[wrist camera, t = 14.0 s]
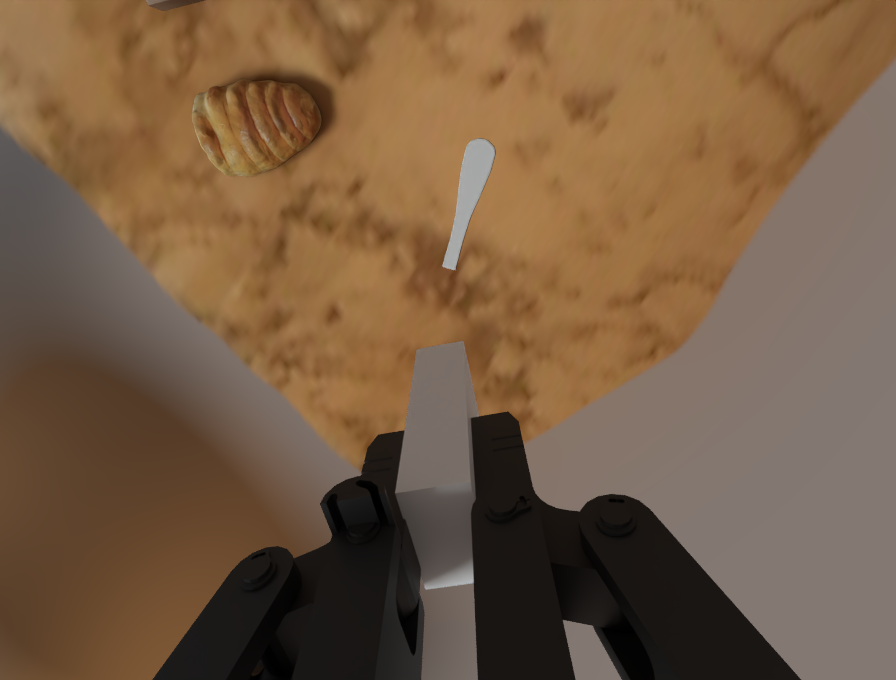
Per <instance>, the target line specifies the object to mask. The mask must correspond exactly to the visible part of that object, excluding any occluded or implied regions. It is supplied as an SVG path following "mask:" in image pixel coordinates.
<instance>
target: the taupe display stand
mask: <svg viewBox="0 0 896 680" xmlns="http://www.w3.org/2000/svg"><path fill="white" fill-rule="evenodd" d="M200 1H204V0H146V2H147V4H148V6H151V7H154V8H156V9H159V10H162V11H165V10H169V9H173V8H177V7H180V6H184V5H188V4H192V3H196V2H200Z"/></svg>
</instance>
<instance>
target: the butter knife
mask: <svg viewBox="0 0 896 680" xmlns="http://www.w3.org/2000/svg"><path fill="white" fill-rule="evenodd" d="M495 154H496V152H495V148H494V146H493V145H492V144H491V143H490V142H489V141H488V140H486V139H482V138H478V139H475V140H471V142H470V143H469V144H468V145H467V147H466V151H465V155H464V159H463V162H462V167H461V174H460V182H459V190H458V199H457V208H456V215H455V220H454V224H453V229H452V233H451V238H450V241H449V245H448V248H447V251H446V255H445V258H444V262H443V267H445V268H449V269H453V270H456V266H457V262H458V258H459V254H460V250H461V247H462V243H463V239H464V236H465V233H466V230H467V227H468V224H469V221H470V218H471V215H472V213H473V211H474V209H475V206H476V204H477V202H478V200H479V198H480V195H481V193H482V191H483V188H484V186H485V184H486V181H487V179H488V177H489V174H490V172H491V169H492V165H493V161H494V158H495Z"/></svg>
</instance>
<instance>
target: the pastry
mask: <svg viewBox="0 0 896 680" xmlns="http://www.w3.org/2000/svg"><path fill="white" fill-rule="evenodd" d="M192 122H193V125H194V128H195V131H196V134H197V137H198V140H199V142H200V145H201V147H202V148H203V150H204V151H205V152H206V154H207V155H208V158H209V160H210V161H211V162H212V163H213V164H214V166H215V167H216V168H218V169H219V170H220V171H222V172H223V173H224V174H225V175H227V176H237V175H241V176H249V177H253V176H257V175H259V174H261V173H262V172H265V171H268V170H270V169H273V168H276V167H278V166H280V165H281V164H282V163H283V162H285V161H287V160H288V159H289V158H290V157H291V156H293V155H294V154H296V153H297V152H298V151H300V150H302V149H303V148H304V147H306V146H307V145H308V144H309V143H310V142H311V141H312V140H313V138H314V137H315V135H316V134H317V132H318V131H319V129H320V126H321V122H322V119H321V115H320V111H319V108H318V106H317V105H316V103H315V101H314V99H313V98H312V96H311V95H310V94H309V93H308V92H307V91H305V90H304V89H302V88H301V87H300V86H299V85H297V84H295V83H280V82H276V81H272V80H264V81H256V82H254V81H250V80H247V79H240V80H238V81H237V82H236V83H234V84H230V85H227V86H224V87H217V86H216V87H212V88H210V89H209V91H208V92H206V93H199V94H198V95H197V96H196V98H195V101H194V105H193V113H192Z"/></svg>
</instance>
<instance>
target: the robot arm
mask: <svg viewBox="0 0 896 680" xmlns="http://www.w3.org/2000/svg"><path fill="white" fill-rule="evenodd" d="M364 462H365V464H364V465H363V468H362V472H361V473H362V475H361V476H357V477H354V478H351V479H347V480H345V481H343V482H341V483H339V484H337V485H336V486H334V487H333V488H332V489H331V490H330V491H329V492H328V493H327V494H326V495H325V496H324V498H323V500H322V501H321V503H320V505H321V508H322V510H323V513H324V515H325V518H326V520H327V523H328V525H329V528H330V530H331V532H332V538H331V541H330V542H329V543H327V544H326V545H324V546H322V547H320V548H318V549H316V550H313V551H311V552H308V553H306V554H304V555H301V556H299V557H296V558H293V556H292V554H291V553H290V552H289V551H288V550H287V549H285V548H282V547H278V546H276V547H267V548H264V549H261V550H259V551H256V552H254V553H252V554H251V555H249V556H248V557H246V558H245V559H243V560H242V561H241V562H240V563H239V564H238V565H237V566H236V567H235V568H234V569H233V570H232V571H231V572H230V574H229V575H228V577H227V578H226V579H225V581H224V582H223V584H222V585H221V586H220V588H219V589H218V590H217V592H216V593H215V594H214V596H213V597H212V599H211V600H210V601H209V603H208V604H207V605H206V607H205V608H204V610H203V611H202V612H201V614H200V615H199V616H198V618H197V619H196V621H195V622H194V623H193V625H192V626H191V627H190V629H189V630H188V631H187V633H186V634H185V636H184V637H183V639H182V640H181V641H180V643H179V644H178V645H177V647H176V648H175V649H174V651H173V652H172V654H171V655H170V656H169V658H168V659H167V660H166V662H165V663H164V664H163V666H162V667H161V669H160V670H159V671H158V673H157V674H156V676H155V677H154V678H153V680H421V670H422V651H423V632H424V607H423V602H422V599H421V596H420V593H419V590H420V577H422V580H423V583H424V586H425V589H433V588H441V587H448V586H455V585H462V584H469V583H474V598H475V622H476V645H477V667H478V680H575V675H574V671H573V666H572V661H571V657H570V652H569V647H568V643H567V638H566V634H565V629H564V624H563V620H567V621H572V622H577V623H582V624H587V625H593V627H594V630H595V632H596V633H597V635H598V637H599V639H600V641H601V642H602V644H603V646H604V648H605V650H606V651H607V653H608V655H609V657H610V659H611V661H612V662H613V664H614V666H615V668H616V669H617V671H618V673H619V675H620V677H621V679H622V680H801V679H800V678H799V677H798V676H797V675H796V674H795V672H794V671H793V670H792V669H791V668H790V667H789V666H788V664H787V663H786V662H785V661H784V660H783V659H782V658H781V656H780V655H779V654H778V653H777V652H776V651H775V650H774V649H773V648H772V647H771V645H770V644H769V643H768V642H767V641H766V640H765V639H764V637H763V636H762V635H761V634H760V633H759V632H758V631H757V629H756V628H755V627H754V626H753V625H752V624H751V623H750V622H749V621H748V619H747V618H746V617H745V616H744V615H743V614H742V613H741V611H740V610H739V609H738V608H737V607H736V606H735V605H734V604H733V602H732V601H731V600H730V599H729V598H728V597H727V596H726V595H725V594H724V592H723V591H722V590H721V589H720V588H719V587H718V586H717V584H716V583H715V582H714V581H713V580H712V579H711V578H710V577H709V575H708V574H707V573H706V572H705V571H704V570H703V569H702V567H701V566H700V565H699V564H698V563H697V562H696V561H695V560H694V558H693V557H692V556H691V555H690V554H689V553H688V552H687V551H686V549H685V548H684V547H683V546H682V545H681V544H680V543H679V542H678V540H677V539H676V538H675V537H674V536H673V535H672V534H671V533H670V532H669V530H668V529H667V528H666V527H665V526H664V525H663V524H662V523H661V521H660V520H659V519H658V518H657V517H656V516H655V515H654V513H653V512H652V511H651V510H650V509H649V508H648V507H646V506H645V505H644V504H643V503H641V502H640V501H639V500H636V499H634V498H631V497H628V496H626V495H615V494H609V495H603V496H598V497H596V498H594V499H592V500H590V501H589V502H587V503H586V504H585V505H584V507H583V508H582V509H581V511H580V512H578V511H569V510H563V509H558V508H555V507H553V506H550V505H548V504H546V503H545V502H543V501H542V500H541V499H540V498H539V497H538V496H537V495H536V494H535V491H534V489H533V487H532V482H531V477H530V472H529V468H528V463H527V459H526V454H525V449H524V445H523V440H522V436H521V431H520V426H519V422H518V421H517V420H516V419H515V418H514V417H513V416H512V415H511V414H510V413H509V412H503V413H497V414H491V415H485V416H479V413H478V408H477V403H476V398H475V394H474V389H473V384H472V379H471V375H470V370H469V365H468V360H467V356H466V351H465V346H464V341H459V342H454V343H449V344H443V345H438V346H432V347H427V348H421V349H417V352H416V359H415V365H414V372H413V379H412V385H411V392H410V398H409V405H408V411H407V418H406V425H405V430H404V431H398V432H392V433H386V434H380V435H378V436H377V437H376V438H375V439H374V441H373V442H372V443H371V444H370V446H369V447H368V449H367V453H366V457H365V461H364Z"/></svg>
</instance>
